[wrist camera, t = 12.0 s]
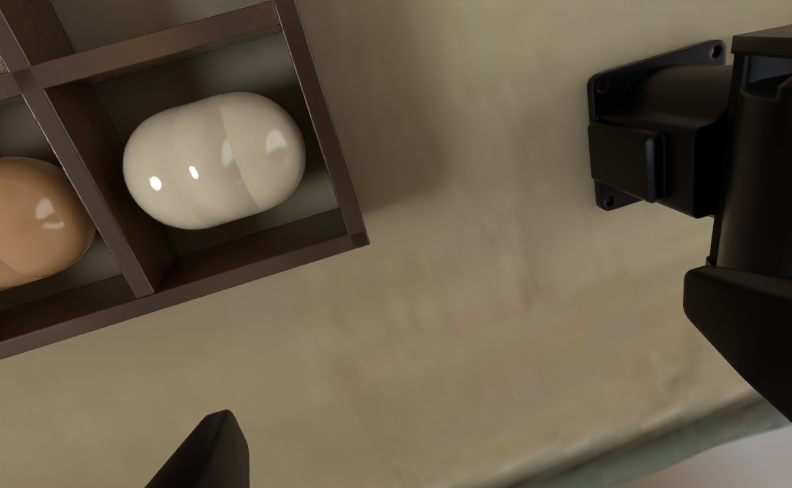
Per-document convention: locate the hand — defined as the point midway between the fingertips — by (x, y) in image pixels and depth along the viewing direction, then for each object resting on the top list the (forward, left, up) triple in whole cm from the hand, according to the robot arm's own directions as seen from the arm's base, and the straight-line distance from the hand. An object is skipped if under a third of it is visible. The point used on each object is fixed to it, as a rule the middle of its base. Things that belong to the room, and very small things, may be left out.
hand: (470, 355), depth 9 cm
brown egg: (+14, -3, -13) cm, 19 cm away
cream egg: (+5, -3, -13) cm, 14 cm away
